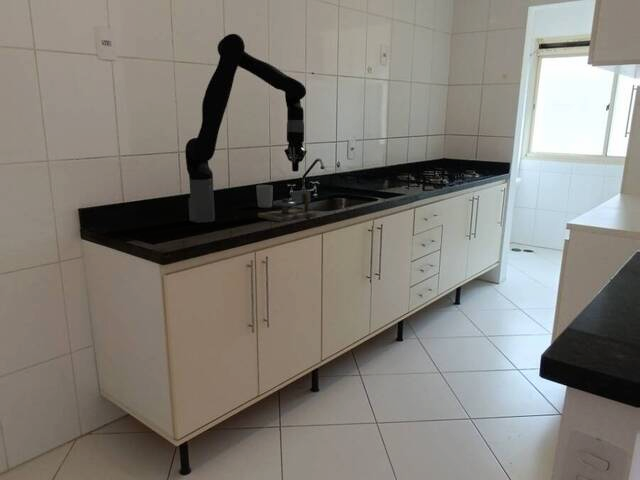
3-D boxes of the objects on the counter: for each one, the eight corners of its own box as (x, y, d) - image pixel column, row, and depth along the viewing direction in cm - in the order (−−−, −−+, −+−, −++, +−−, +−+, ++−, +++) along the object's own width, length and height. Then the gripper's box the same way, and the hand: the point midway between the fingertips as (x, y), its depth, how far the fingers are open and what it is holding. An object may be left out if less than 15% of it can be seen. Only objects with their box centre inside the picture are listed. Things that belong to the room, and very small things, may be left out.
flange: (282, 207, 203) (282, 195, 202) (268, 204, 210) (268, 192, 209) (316, 202, 214) (316, 191, 213) (301, 200, 222) (301, 189, 221)
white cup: (261, 208, 232) (261, 187, 230) (253, 206, 239) (253, 185, 236) (276, 206, 237) (275, 186, 235) (268, 204, 243) (267, 184, 241)
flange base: (279, 221, 201) (279, 199, 198) (257, 216, 211) (257, 196, 209) (316, 215, 214) (316, 195, 212) (294, 211, 224) (293, 191, 222)
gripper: (279, 130, 216) (279, 170, 220) (298, 131, 207) (298, 172, 211) (292, 130, 221) (292, 170, 225) (312, 131, 212) (311, 172, 216)
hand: (295, 171), depth 218 cm, fingers closed
